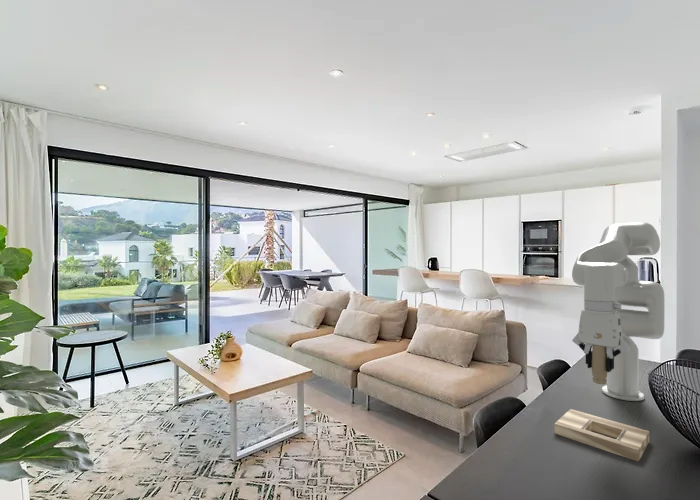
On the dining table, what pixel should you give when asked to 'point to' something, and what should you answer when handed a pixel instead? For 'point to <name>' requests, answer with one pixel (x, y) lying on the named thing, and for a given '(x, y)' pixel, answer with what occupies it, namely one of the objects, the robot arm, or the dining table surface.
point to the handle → (599, 362)
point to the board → (582, 425)
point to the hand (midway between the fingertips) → (599, 368)
